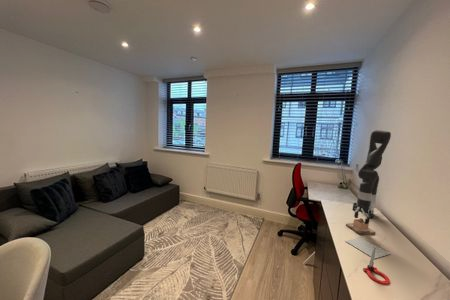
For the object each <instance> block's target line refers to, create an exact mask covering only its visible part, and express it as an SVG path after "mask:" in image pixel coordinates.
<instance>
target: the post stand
mask: <svg viewBox="0 0 450 300" xmlns="http://www.w3.org/2000/svg"><path fill="white" fill-rule="evenodd" d="M358 219H359V222H360V223H363V221H365V219H363V218H358ZM345 226H346V227H347V228H349V229H350V230H352V231H353V232H354V233H356V234H358V235H359V236H360V235H361V236H362V235H363V236H364V235H366V236H367V235H368V236H369V235H376V231H375V230H373V229H371V228H369V227H368V230H360V229H358V228H356V227H355V226H353V223H351V222H350V223H345Z"/></svg>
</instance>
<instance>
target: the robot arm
mask: <svg viewBox="0 0 450 300" xmlns="http://www.w3.org/2000/svg"><path fill="white" fill-rule="evenodd" d="M391 136H392V134H391V132H390V131H386V130H378V129H374V130H372V131H371V134H370V138H369V145H368V152H367V156H366V161H365V163H364V165H362V167H361V168H360V169H359V171H358V173H357V175H358V178H359V179H361V181H362V182H360V183H359V190H358V194H357V199H356V202H353V204H352V210H351V211H353V212H354V216H353V217H354V218H355V219H359V212H360V213H361V214H363V217H365V219H364V221H365V224H369V225H370V220H374V212H375V206H376V200H377V192H378V187H379V182H380V176H379V173H378V171H377V170H376V169H378V168H379V167H380V166H381V164H382V161H383V155H384V152H385V150H386V149H387V146H388V144H389V143H390V140H391ZM377 144H380V146H379V147H377Z"/></svg>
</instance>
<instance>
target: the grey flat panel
mask: <svg viewBox="0 0 450 300" xmlns="http://www.w3.org/2000/svg"><path fill="white" fill-rule="evenodd" d="M345 242H346V243H348V244H350V245H351V246H353V247H355V248H356V249H358V250H360V251H361V252H363V253H365V254H366V255H368V256H369V257H371V255H372V250H373V248H374V247H376V249H375V251H376V252H375V257H374V260H376V259H378V258H381V257H384V256H388V255H391V253H390V252H388V251H386V250H384V249H383V248H381V247H379V246H378V245H376V244H373V243H372V242H370V241H368V240H366V239H364V238H363V237H356V238H352V239H347V240H345Z"/></svg>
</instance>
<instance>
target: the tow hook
mask: <svg viewBox="0 0 450 300" xmlns="http://www.w3.org/2000/svg"><path fill="white" fill-rule="evenodd" d="M375 249H376V247H374V248H373V250H372V255H371V256H370V260H369V262H368V263H369V264H368V265H367V266H366V267H363V268H362V270H363V271H364V272H366V275H367V276H368V278H369V279H371V280H372V281H374V282H375V283H377V284H380V285H385V286H386V285H389V284H390V283H391V279H390V278H389V276H388V275H387V274H385V273H383V272H381V271H380V270H378V268H377V267H376V266H375V267H374V264H375V262H374V261H375V259H374V257H375V252H376V251H375ZM372 272H373V273H376V274H378V275H380V276H382V277H383V278H384V280H380V279H378V278H376V277H375V276H374V275H373V274H372Z"/></svg>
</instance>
